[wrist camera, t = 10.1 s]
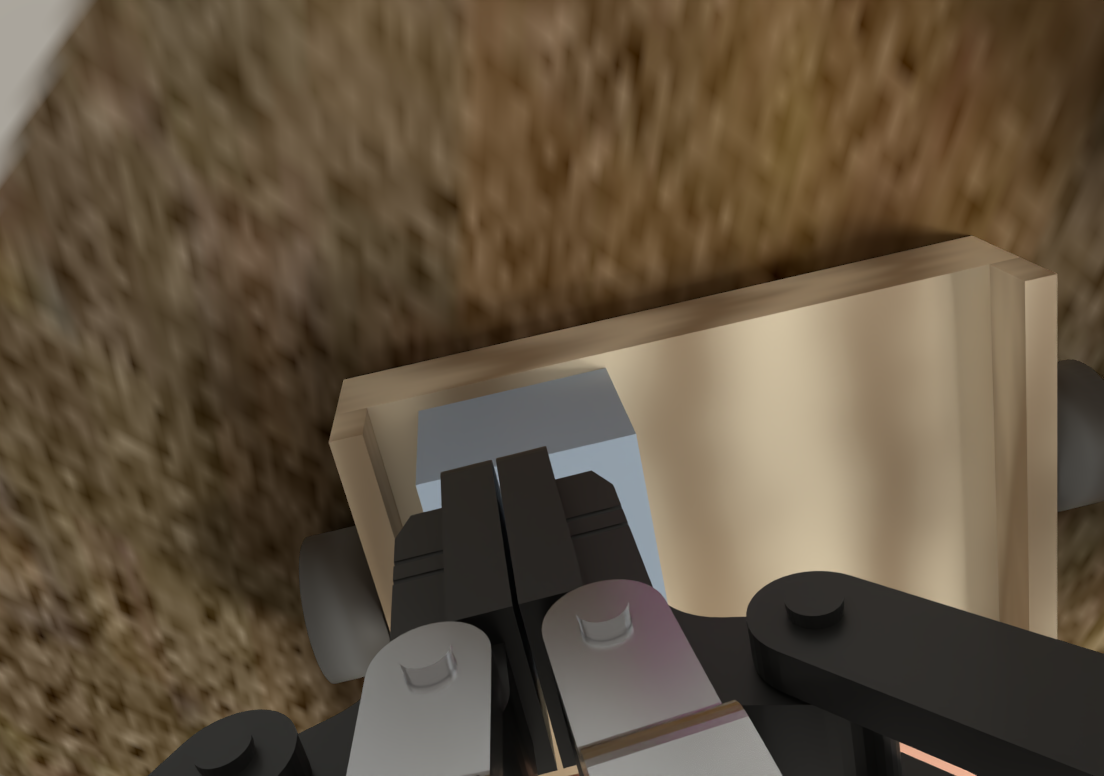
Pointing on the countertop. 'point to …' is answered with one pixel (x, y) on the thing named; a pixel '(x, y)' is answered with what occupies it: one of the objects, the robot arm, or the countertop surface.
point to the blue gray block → (544, 443)
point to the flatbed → (779, 441)
